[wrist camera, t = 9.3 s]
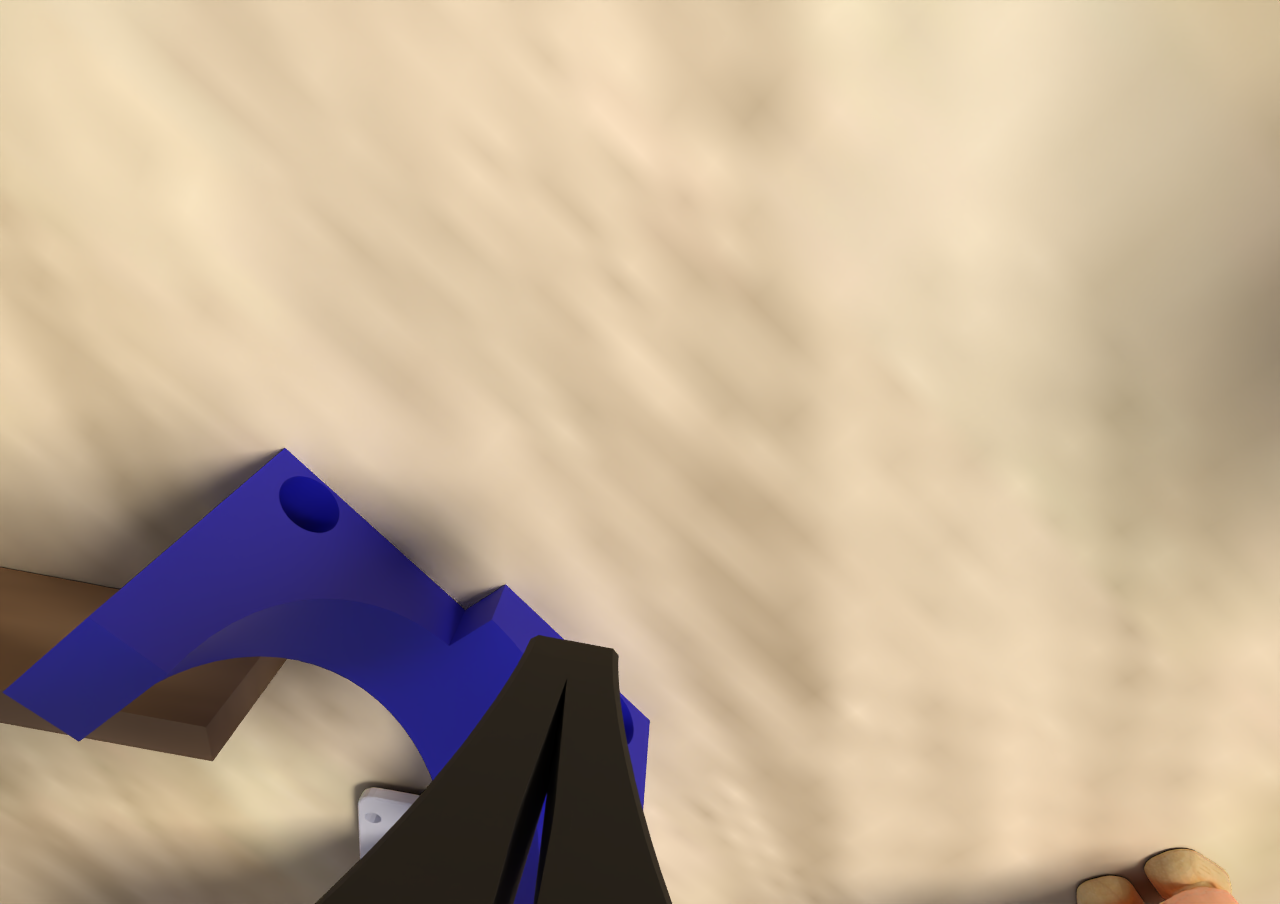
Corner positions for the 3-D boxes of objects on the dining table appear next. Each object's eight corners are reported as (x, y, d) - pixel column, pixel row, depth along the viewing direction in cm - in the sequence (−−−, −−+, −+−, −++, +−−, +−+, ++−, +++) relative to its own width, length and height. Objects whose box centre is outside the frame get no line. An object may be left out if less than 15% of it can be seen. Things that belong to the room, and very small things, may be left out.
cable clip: (650, 715, 19) (632, 948, 14) (536, 771, 21) (482, 999, 16) (328, 409, 15) (137, 573, 10) (217, 506, 17) (1, 692, 12)
